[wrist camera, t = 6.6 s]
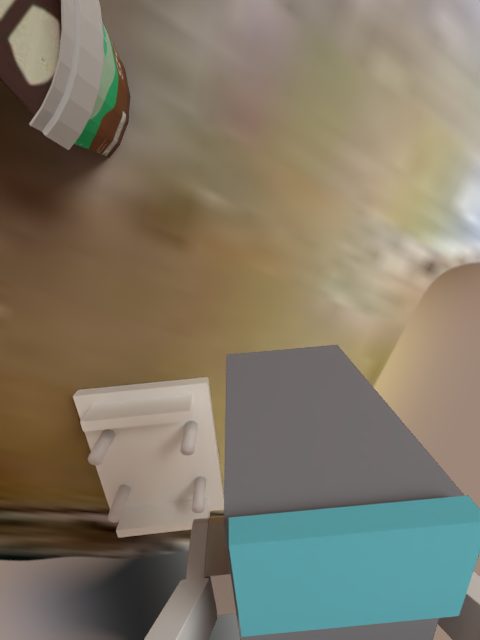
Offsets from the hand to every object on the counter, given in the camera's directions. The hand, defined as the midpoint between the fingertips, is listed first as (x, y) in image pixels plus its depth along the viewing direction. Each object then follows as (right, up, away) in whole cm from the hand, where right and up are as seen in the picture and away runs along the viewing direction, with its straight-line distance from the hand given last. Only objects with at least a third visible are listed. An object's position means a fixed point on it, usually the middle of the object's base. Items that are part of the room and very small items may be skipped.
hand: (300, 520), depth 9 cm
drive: (0, +1, +3) cm, 3 cm away
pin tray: (-10, -7, +19) cm, 23 cm away
